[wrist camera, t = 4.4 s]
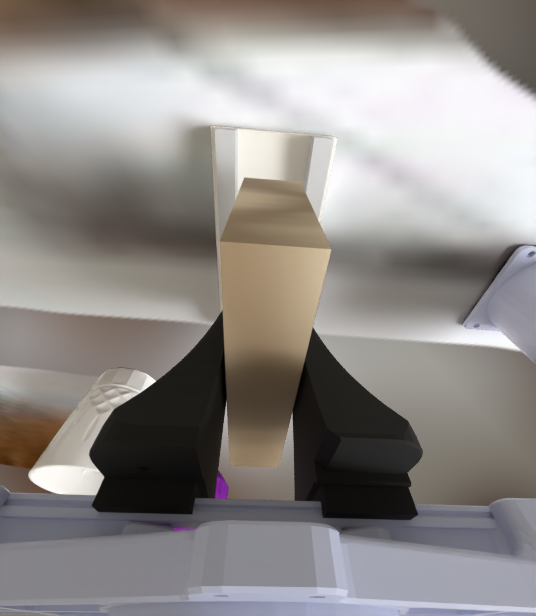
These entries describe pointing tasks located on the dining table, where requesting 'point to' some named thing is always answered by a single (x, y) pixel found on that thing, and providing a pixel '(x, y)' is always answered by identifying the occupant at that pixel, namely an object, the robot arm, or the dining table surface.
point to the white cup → (85, 435)
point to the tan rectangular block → (268, 311)
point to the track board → (266, 167)
